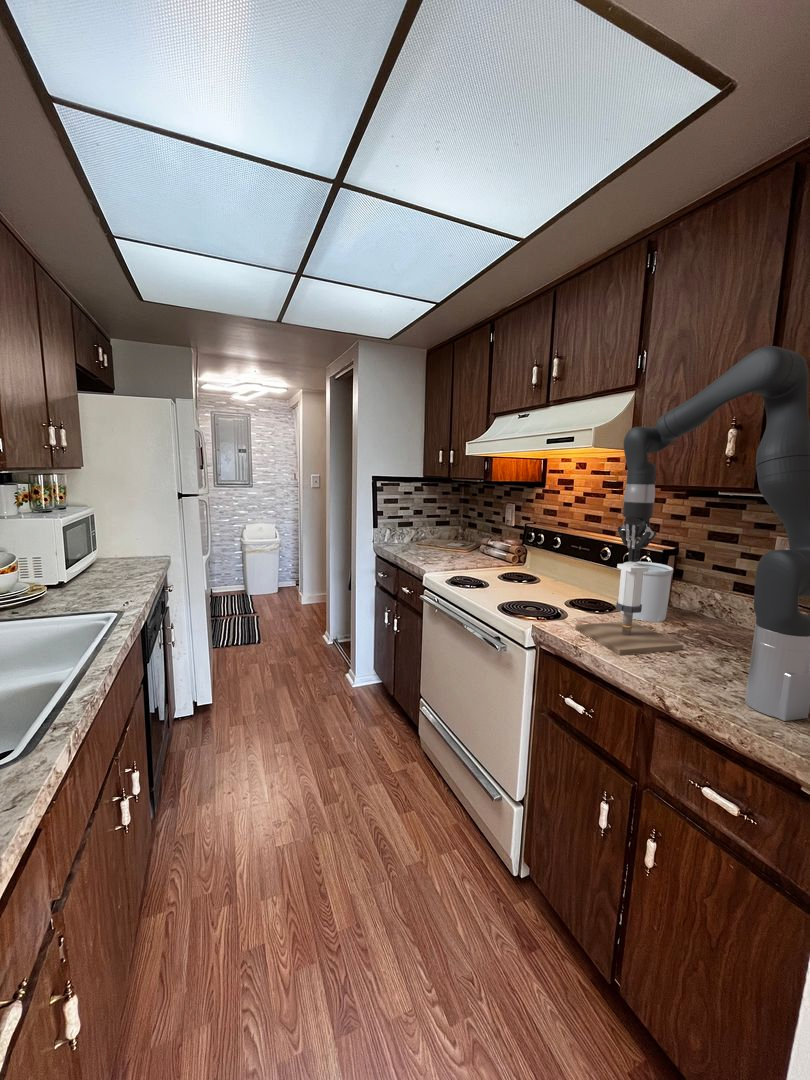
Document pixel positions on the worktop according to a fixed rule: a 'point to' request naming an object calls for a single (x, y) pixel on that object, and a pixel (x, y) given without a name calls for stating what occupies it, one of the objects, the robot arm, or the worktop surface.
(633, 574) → the sleeve
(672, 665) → the worktop surface
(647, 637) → the pipe stand
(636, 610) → the o ring
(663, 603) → the utensil holder
